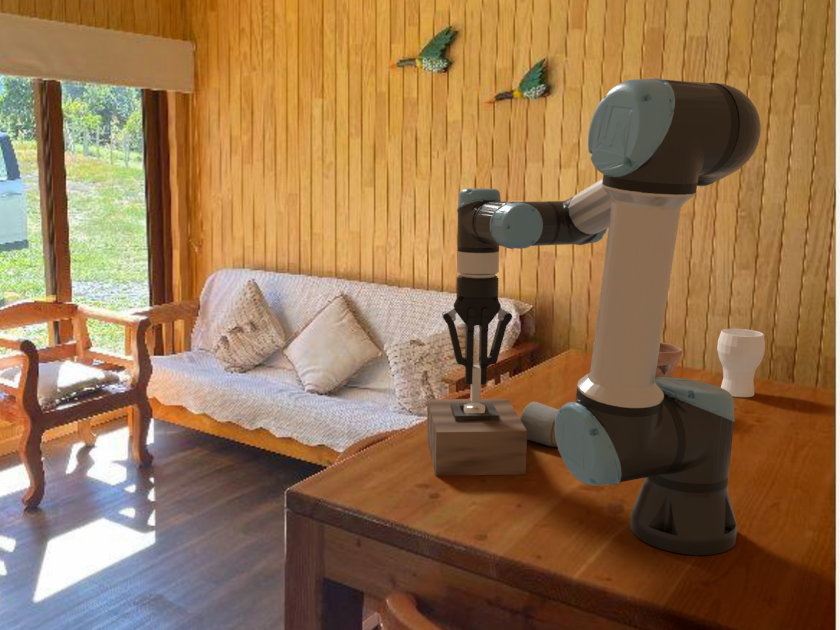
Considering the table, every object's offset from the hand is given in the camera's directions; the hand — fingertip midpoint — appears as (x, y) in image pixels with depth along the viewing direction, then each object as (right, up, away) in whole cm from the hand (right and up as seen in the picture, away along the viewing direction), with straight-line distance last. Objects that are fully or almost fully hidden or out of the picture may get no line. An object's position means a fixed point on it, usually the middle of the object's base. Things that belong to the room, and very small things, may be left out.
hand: (475, 400), depth 152 cm
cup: (+66, -3, +46) cm, 81 cm away
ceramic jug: (+42, -5, +35) cm, 55 cm away
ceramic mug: (+15, -9, +11) cm, 21 cm away
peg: (0, -9, +2) cm, 10 cm away
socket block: (0, -10, +2) cm, 11 cm away
